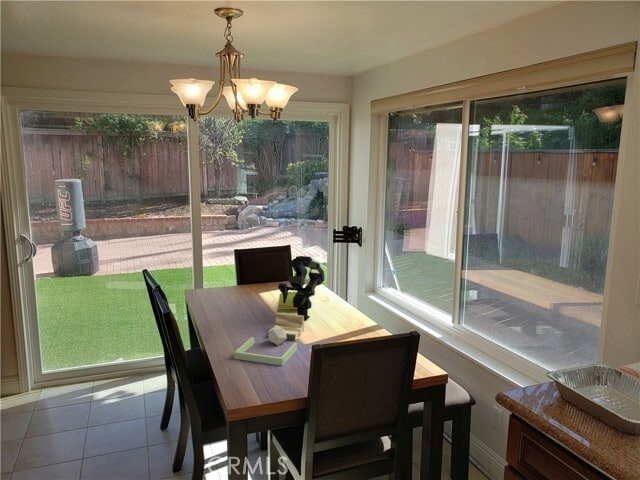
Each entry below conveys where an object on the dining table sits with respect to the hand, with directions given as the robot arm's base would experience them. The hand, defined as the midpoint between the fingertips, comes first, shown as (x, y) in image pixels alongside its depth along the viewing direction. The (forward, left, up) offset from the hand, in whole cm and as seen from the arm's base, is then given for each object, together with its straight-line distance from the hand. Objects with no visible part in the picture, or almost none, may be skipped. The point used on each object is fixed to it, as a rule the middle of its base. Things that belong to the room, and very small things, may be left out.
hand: (292, 304), depth 239 cm
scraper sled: (+9, 0, -13) cm, 16 cm away
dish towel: (-39, -15, -13) cm, 43 cm away
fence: (+33, 0, -12) cm, 36 cm away
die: (+21, 0, -13) cm, 24 cm away
